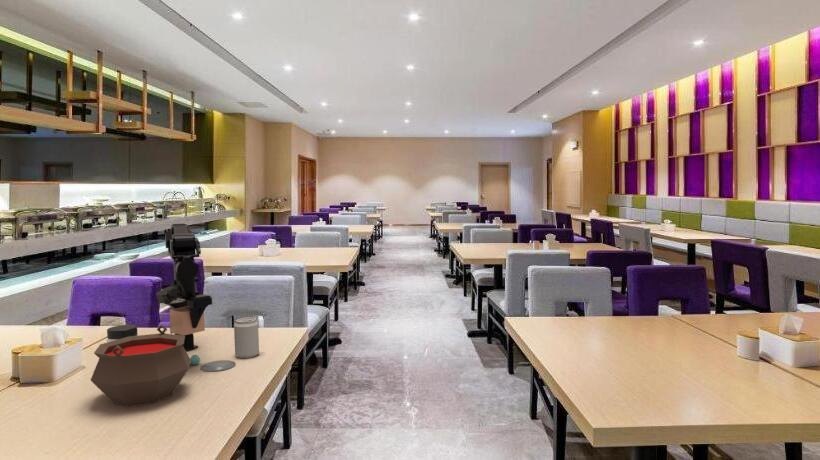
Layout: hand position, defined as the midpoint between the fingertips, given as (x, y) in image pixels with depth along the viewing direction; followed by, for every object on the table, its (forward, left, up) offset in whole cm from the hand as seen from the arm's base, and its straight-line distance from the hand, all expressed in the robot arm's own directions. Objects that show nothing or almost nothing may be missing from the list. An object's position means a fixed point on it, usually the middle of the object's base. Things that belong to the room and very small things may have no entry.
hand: (187, 326), depth 163 cm
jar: (-16, -12, -12) cm, 23 cm away
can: (+7, +16, -12) cm, 21 cm away
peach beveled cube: (0, 0, -2) cm, 2 cm away
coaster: (+9, +4, -12) cm, 15 cm away
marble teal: (+1, +1, -12) cm, 12 cm away
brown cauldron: (+14, -21, -12) cm, 28 cm away
